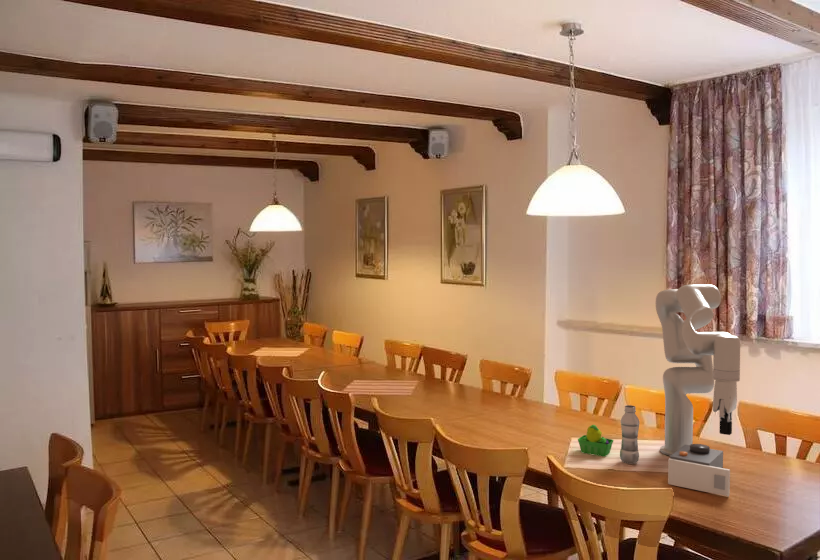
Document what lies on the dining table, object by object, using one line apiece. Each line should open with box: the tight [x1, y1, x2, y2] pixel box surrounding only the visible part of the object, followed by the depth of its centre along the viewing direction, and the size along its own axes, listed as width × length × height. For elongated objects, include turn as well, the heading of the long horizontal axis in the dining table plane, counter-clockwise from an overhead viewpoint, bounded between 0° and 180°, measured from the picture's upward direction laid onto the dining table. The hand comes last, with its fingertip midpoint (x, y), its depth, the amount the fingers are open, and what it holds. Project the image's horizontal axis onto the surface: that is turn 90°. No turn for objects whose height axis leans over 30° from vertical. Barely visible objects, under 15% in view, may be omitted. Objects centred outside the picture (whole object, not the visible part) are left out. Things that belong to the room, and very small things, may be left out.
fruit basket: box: [577, 424, 615, 458], centre depth 255 cm, size 11×9×11 cm
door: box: [667, 457, 731, 497], centre depth 216 cm, size 2×18×8 cm, turn 52°
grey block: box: [669, 443, 724, 468], centre depth 225 cm, size 16×12×11 cm
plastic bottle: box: [619, 404, 640, 465], centre depth 243 cm, size 6×7×20 cm
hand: (725, 433), depth 216 cm, fingers closed
